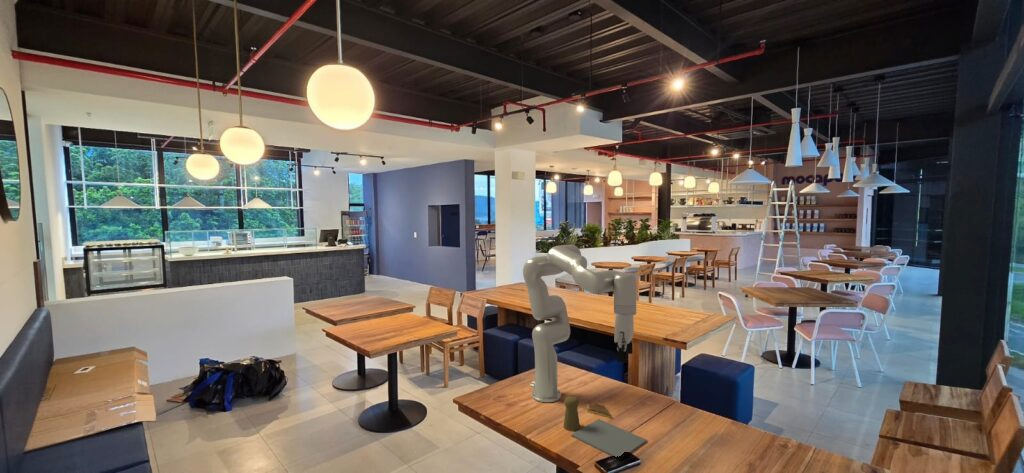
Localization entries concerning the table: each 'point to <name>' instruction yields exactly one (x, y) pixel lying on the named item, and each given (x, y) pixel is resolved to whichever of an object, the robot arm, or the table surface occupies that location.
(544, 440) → the table surface
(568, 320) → the robot arm
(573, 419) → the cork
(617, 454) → the slate mat
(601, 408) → the shard
